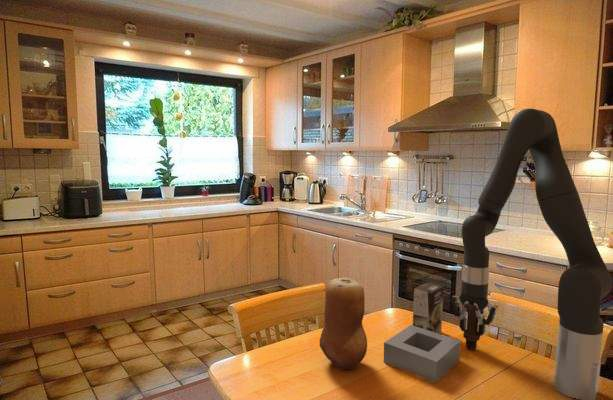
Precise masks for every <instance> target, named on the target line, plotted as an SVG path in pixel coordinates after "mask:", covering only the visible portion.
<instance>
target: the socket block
mask: <svg viewBox="0 0 613 400" xmlns="http://www.w3.org/2000/svg"><path fill="white" fill-rule="evenodd" d="M460 354H461V340H459V339H456V338H453V337H450V336H447V335H444V334H441V333H435V332H432V331H429V330H425V329H422V328H419V327H416V326H413V324H409V325H408V326H407V327H405V328H403V329H402V330H401V331H399V332H398V333H396V334H395V335H393V336H392V337H390V338H389V339H387V340H386V341H384V343H383V363H385V364H388V365H391V366H393V367H396V368H397V369H400V370H402V371H405V372H408V373H410V374H413V375H414V376H417V377H420V378H423V379H424V380H427V381H429V382H432V383H435V384H437V383H438V382H439V381H440V379H442V378H443V377H444V376H445V375H446V374H447V373H448V372H449V371H450V370H451V369H452V368H453V367H454V366H455V365H456V364H457V363H459V362H460V359H461V358H460Z"/></svg>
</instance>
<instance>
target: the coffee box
mask: <svg viewBox="0 0 613 400" xmlns="http://www.w3.org/2000/svg"><path fill="white" fill-rule="evenodd" d="M443 303H444V285H440V284H436V283H430V282H425V283H423V284H421V285H419V286H416V287H415V288H414V292H413V314H412V325H413V326H416V327H419V328H422V329H425V330H429V331H432V332H435V333H438V334H441V332H442V327H443V326H442V325H443V324H442V323H443Z"/></svg>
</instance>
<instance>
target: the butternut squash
mask: <svg viewBox="0 0 613 400" xmlns="http://www.w3.org/2000/svg"><path fill="white" fill-rule="evenodd" d="M364 289H365V288H364V287H363V286H362V284H361V283H360V282H358V281H357V280H355V279H353V278H350V277H340V278H339V277H338V278H334V279H331V280H330V281H329V282H328V283H327V285H326V288H325V296H324V297H325V299H324V300H325V301H324V314H323V315H324V318H323V319H324V320H323V322H324V323H323V328H322V330H321V334H320V338H319V347H320V349H321V351H322V352H323V355H325V357H326V359H328V361H330V362H331V363H332V364H333V365H335V366H336V367H337V368H339V369H342V370H350V369H354V368H356V367H357V366H359V364H361V363H362V361H363V360H364V358H365V356H366V355H367V351H368V338H367V335H366V331H365V329H364V326H363V319H364V316H365V306H366V305H365V302H366V300H365V290H364Z"/></svg>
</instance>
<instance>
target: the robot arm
mask: <svg viewBox="0 0 613 400" xmlns="http://www.w3.org/2000/svg"><path fill="white" fill-rule="evenodd" d="M528 151H529V154H530V157H531V159H532V162H533V165H534V173H535V174H534V175H535V177H534V184H535V185H534V187H535V196H536V199H537V203H538V206H539V209H540V212H541V216H542V217H543V219H544V221H545V223H546V224H547V227H548V228H550V231H551V232H552V233H553V234H554V236H556V238H557V239H558V240H559V242H560V243H561V245H562V247H563V249H564V251H565V255H566V257H567V261H568V262H567V263H568V264H569V268H567V269H565V270H564V271H563V272H562V274H561V275H560V277H559V281H558V287H557V289H558V290H557V308H556V309H557V314H558V317H559V321H558V322H559V323H558V334H557V335H558V336H557V345H556V355H555V366H554V376H553V387H554V388H555V389H556V390H557V392H559V393H560V394H561V395H564V396H565V397H568V398H570V397H571V399H573V398H576V399H575V400H577V399H581V400H596V398H597V395H598V391H599V382H600V373H601V363H602V358H601V353H602V344H603V343H602V342H603V335H604V328H605V327H604V326H605V325H604V321H603V319H602V318H601V317H600V314H601V313H600V312H601V301H602V299H603V298H605V297H607V295H608V294H609V293H610V292H611V290H612V286H613V280H612V277H611V273H610V272H609V269H608V268H607V265H606V263H605V261H604V259H603V257H602V255H601V254H600V252H599V250H598V247H597V244H596V243H595V240H594V238H593V234H592V231H591V228H590V224H589V221H588V219H587V216H586V213H585V210H584V206H583V203H582V201H581V197H580V195H579V192H578V189H577V186H576V184H575V182H574V180H573V177H572V174H571V171H570V168H569V167H568V164H567V162H566V159H565V157H564V154H563V151H562V146H561V141H560V136H559V133H558V128H557V125H556V121H555V119H554V117H553V115H551V114H550V113H548V112H547V111H544V110H540V109H536V108H523V109H520V110H519V111H518V112H517V113H516V114H514V116H513V117H512V119H511V120H510V122H509V125H508V129H507V132H506V133H505V138H504V141H503V143H502V146H501V149H500V152H499V154H498V157H497V160H496V163H495V166H494V168H493V170H492V172H491V174H490V176H489V178H488V179H487V182H486V183H485V186H484V188H483V189H482V191H481V193H480V195H479V197H478V201H477V202H478V208H477V210H476V211H475V214H473V215H469V216H467V217H466V218H465V219H464V220H463V222H462V226H461V239H462V244H463V245H462V246H463V250H464V252H463V253H464V254H463V266H462V271H461V272H462V273H461V287H460V290H461V291H460V295H453V296H451V297H450V303H451V308H452V312H453V315H454V317H458V318H459V329H460V330H461V331H462V332H464V331H465V330H467V315H468V312H467V311H468V309H467V308H465V307H464V305H465V304H466V303H467V304H470V303H471V304H474V305H475V306H477V309H478V311H475V312H476V316H477V318H478V336H480V338H481V337H482V336H484V334H485V333H486V326H490V325H491V323H493V322H494V321H493V320H494V318H495V315H496V313H497V311H498V308H499V307H498V305H496V304H495V305H493V304H491V303H490V302H489V299H488V295H489V294H488V293H489V280H490V270H489V264H490V251H489V248H488V247H487V246H486V237H488V236H489V235H491V234H492V233H493V232H494V230H495V229H496V228H497V224H498V222H499V219H500V217H501V213H502V209H504V207H505V205H506V203H507V202H508V200H509V198H510V196H511V194H512V192H513V190H514V189H515V185H516V181H517V177H518V173H519V169H520V167H521V164H522V162H523V159H524V157H526V154H527V153H528ZM464 302H465V304H464ZM460 303H461V305H462V309H461V307H460ZM478 306H481V311H480V310H479V307H478ZM486 308H487V311H488V315H487V318H486V316H485V315H486V314H485V309H486Z"/></svg>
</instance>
